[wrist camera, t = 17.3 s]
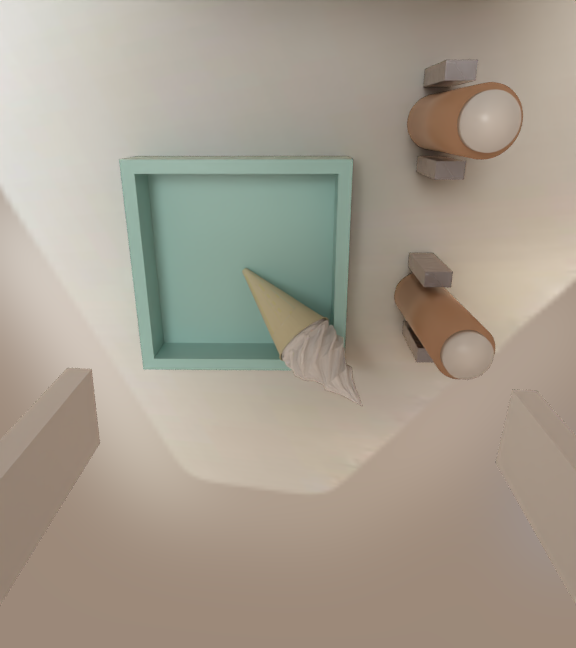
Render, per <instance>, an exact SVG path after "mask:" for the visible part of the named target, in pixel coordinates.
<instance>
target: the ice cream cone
mask: <svg viewBox="0 0 576 648" xmlns="http://www.w3.org/2000/svg"><path fill="white" fill-rule="evenodd" d="M242 272H243V275H244V277H245V279H246V281H247V284H248V286H249V288H250V290H251V293H252V295H253V297H254V299H255V302H256V304H257V306H258V308H259V311H260V313H261V315H262V317H263V319H264V322H265V324H266V326H267V328H268V331H269V333H270V335H271V337H272V339H273V341H274V344H275V346H276V348H277V350H278V353H279V355H280V356H279V358H280V360H282V361H284V362H285V365H286V366H287V367H289V368H290V369H292V371H293V373H294V375H295V376H296V377H299V378H301V379H303V380H305V381H316V382H318V383H320V384H322V385H323V386H324V389H325V390H327V391H330V392H334V393H337V394H340V395H342V396H344V397H346V398H348V399H350V400H352V401H353V402H355V403H357V404H359V405H360V406H363V405H362V403H361V400H360V398H359V395H358V392H357V390H356V387H355V384H354V381H353V375H352V367H350V366H348V365H346V361H345V348H343V344H344V343H343V337H341V336H339V335H337V334H336V330H335V329H334V327H333V325H329V323H328V321H329V320H328V318H327V317H323V316H321V315H319V314H318V313H316V312H315V311H313V310H312V309H310V308H308V307H307V306H305V305H304V304H302V303H301V302H299V301H297V300H296V299H295V298H293V297H291V296H290V295H288V294H287V293H285V292H284V291H282V290H280V289H279V288H277V287H276V286H274V285H273V284H271V283H269V282H268V281H266V280H265V279H263V278H261V277H260V276H258V275H257V274H255V273H254V272H252V271H250V270H249V269H247V268H244V269H243V270H242Z"/></svg>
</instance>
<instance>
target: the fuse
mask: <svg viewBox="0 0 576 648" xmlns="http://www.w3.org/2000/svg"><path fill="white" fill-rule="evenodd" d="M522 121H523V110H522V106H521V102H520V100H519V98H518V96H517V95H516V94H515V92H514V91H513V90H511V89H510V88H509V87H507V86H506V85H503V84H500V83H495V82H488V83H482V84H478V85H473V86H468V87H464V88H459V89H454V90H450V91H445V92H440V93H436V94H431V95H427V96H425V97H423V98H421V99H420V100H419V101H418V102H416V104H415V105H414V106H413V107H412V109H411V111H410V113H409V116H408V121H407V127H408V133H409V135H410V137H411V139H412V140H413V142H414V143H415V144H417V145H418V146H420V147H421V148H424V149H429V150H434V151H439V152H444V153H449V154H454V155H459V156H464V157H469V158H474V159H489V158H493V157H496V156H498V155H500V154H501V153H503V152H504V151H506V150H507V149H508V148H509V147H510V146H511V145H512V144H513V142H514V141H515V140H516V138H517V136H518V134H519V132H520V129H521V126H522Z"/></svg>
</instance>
